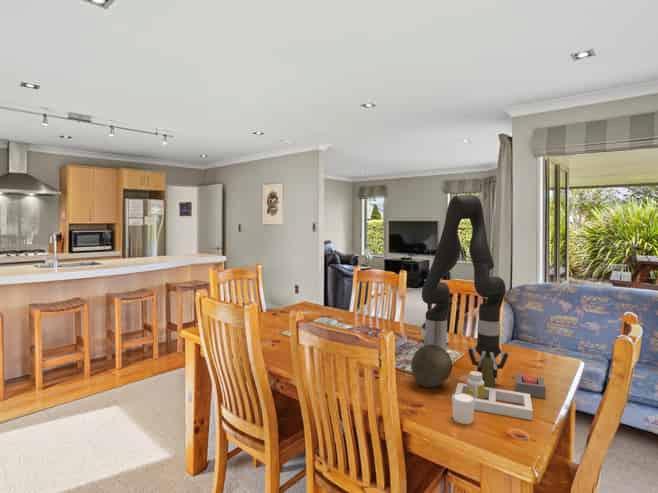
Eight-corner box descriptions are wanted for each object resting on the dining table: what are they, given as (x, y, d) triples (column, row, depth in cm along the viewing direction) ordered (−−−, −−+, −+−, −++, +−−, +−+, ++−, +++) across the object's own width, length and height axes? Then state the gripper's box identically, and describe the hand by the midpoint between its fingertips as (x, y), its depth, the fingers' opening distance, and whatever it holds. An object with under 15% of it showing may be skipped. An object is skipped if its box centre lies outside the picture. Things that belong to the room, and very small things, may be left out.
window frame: (453, 406, 131) (454, 397, 130) (457, 390, 142) (457, 382, 142) (532, 420, 122) (532, 410, 121) (529, 402, 133) (530, 394, 133)
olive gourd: (497, 389, 142) (498, 359, 141) (479, 387, 143) (480, 357, 142) (493, 382, 148) (494, 353, 147) (476, 380, 149) (477, 352, 148)
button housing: (515, 394, 139) (516, 383, 139) (515, 384, 148) (515, 373, 147) (545, 398, 136) (545, 387, 136) (542, 388, 144) (543, 377, 144)
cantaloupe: (421, 395, 138) (421, 353, 137) (405, 379, 152) (406, 341, 151) (458, 392, 141) (459, 350, 140) (439, 376, 155) (440, 338, 154)
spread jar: (418, 340, 199) (419, 318, 198) (435, 337, 204) (436, 315, 204) (435, 347, 189) (436, 323, 188) (453, 344, 194) (453, 320, 193)
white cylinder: (447, 414, 125) (448, 392, 125) (468, 413, 126) (469, 391, 125) (456, 425, 118) (457, 403, 118) (478, 424, 119) (479, 402, 119)
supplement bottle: (483, 399, 136) (484, 371, 135) (484, 406, 130) (485, 377, 130) (466, 396, 137) (467, 369, 137) (466, 403, 132) (467, 375, 131)
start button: (523, 387, 140) (523, 379, 140) (522, 382, 144) (522, 374, 144) (537, 389, 139) (537, 381, 138) (536, 384, 143) (536, 376, 142)
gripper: (467, 332, 143) (465, 378, 145) (510, 337, 138) (508, 385, 139) (468, 326, 150) (467, 370, 152) (510, 331, 145) (508, 376, 146)
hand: (487, 377), depth 145 cm, fingers closed on olive gourd, 4 cm apart
